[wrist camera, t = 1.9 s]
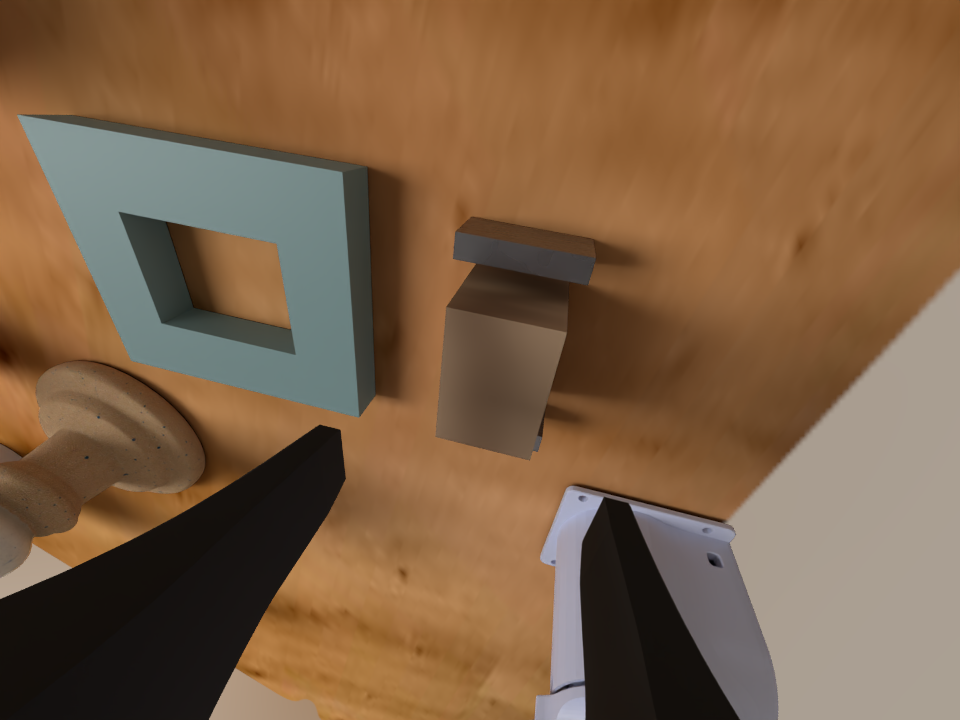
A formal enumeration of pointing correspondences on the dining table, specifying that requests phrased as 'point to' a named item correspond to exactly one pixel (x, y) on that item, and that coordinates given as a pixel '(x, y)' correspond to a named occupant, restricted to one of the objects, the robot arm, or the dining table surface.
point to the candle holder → (91, 453)
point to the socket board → (233, 210)
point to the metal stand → (526, 254)
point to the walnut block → (500, 358)
